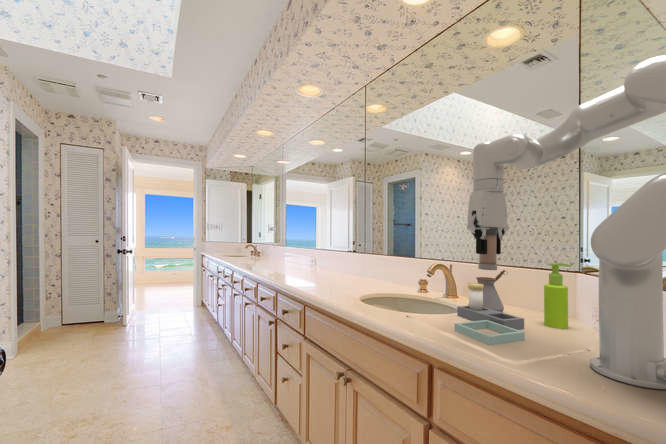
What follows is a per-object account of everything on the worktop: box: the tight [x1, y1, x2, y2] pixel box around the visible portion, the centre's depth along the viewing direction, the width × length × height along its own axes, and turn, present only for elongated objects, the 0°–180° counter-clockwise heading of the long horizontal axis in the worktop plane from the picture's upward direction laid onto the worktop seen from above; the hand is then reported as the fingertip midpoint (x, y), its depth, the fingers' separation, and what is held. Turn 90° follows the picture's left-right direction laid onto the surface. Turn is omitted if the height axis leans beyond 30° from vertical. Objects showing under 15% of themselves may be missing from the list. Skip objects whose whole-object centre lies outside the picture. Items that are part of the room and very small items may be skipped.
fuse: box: [467, 282, 484, 311], centre depth 102 cm, size 5×5×11 cm
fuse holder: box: [456, 305, 525, 331], centre depth 97 cm, size 18×8×4 cm, turn 21°
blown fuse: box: [477, 229, 498, 271], centre depth 85 cm, size 5×5×11 cm
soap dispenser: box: [543, 262, 572, 330], centre depth 94 cm, size 6×7×20 cm
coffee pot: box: [467, 269, 509, 313], centre depth 114 cm, size 21×12×15 cm, turn 128°
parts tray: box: [454, 320, 526, 346], centre depth 84 cm, size 12×12×3 cm
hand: (488, 253), depth 85 cm, fingers closed on blown fuse, 4 cm apart
